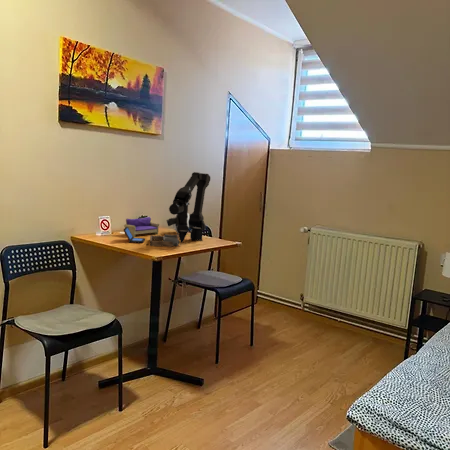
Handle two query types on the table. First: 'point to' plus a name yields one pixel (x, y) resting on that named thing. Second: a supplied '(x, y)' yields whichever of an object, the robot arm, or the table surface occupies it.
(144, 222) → the toy sofa
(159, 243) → the bay
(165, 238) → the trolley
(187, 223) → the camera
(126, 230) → the handheld game console
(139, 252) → the table surface
